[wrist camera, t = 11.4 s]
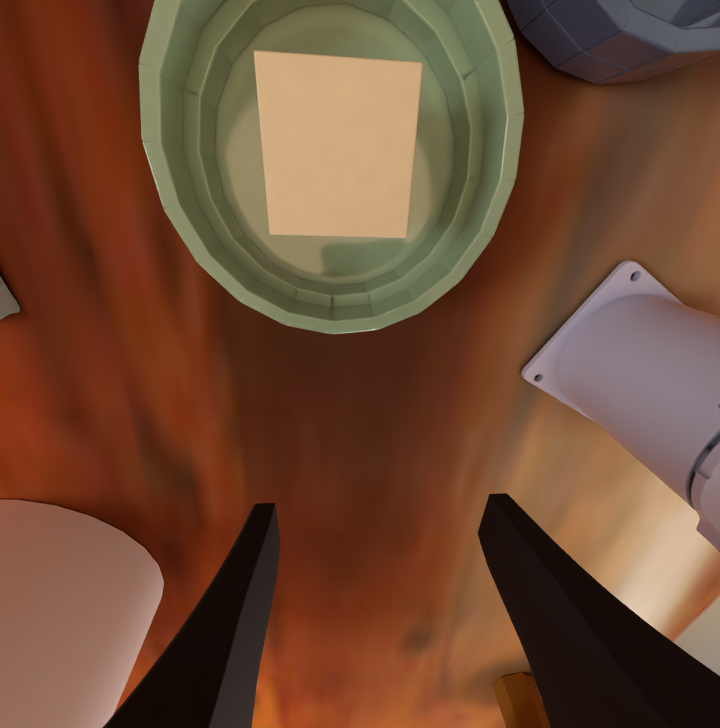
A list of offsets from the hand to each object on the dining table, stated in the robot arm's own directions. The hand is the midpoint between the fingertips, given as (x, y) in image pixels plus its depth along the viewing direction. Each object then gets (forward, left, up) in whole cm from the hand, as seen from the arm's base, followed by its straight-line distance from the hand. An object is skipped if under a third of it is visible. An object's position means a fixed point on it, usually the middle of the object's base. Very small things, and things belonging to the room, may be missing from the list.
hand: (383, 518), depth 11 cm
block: (+7, -9, -9) cm, 14 cm away
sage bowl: (+7, -9, -9) cm, 14 cm away
